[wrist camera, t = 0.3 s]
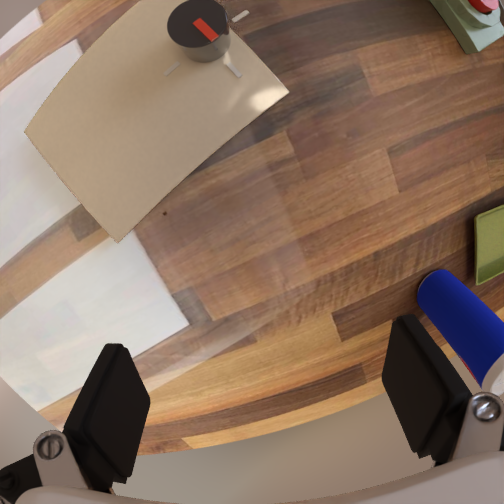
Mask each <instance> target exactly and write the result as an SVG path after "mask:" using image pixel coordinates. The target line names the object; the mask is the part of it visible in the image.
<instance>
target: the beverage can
mask: <svg viewBox="0 0 504 504" xmlns="http://www.w3.org/2000/svg"><path fill="white" fill-rule="evenodd" d="M417 302H418V305H419V306H420V308H421V309H422V310H423V311H424V313H425V314H426V315H427V316H428V318H429V319H430V320H431V321H432V323H433V324H434V325H435V326H436V328H437V329H438V330H439V331H440V333H441V334H442V335H443V337H444V338H445V339H446V340H447V342H448V343H449V344H450V346H451V347H452V348H453V350H454V351H455V352H456V354H457V355H458V356H459V358H460V359H461V360H462V362H463V363H464V365H465V366H466V367H467V369H468V370H469V372H470V373H471V374H472V376H473V377H474V379H475V380H476V382H477V383H478V384H479V386H480V387H481V389H482V390H483V391H484V392H490V393H493V394H495V395H497V396H499V395H501V394H502V393H504V322H503V321H502V320H501V319H500V318H499V317H498V316H497V315H496V314H495V313H494V312H493V311H492V310H491V309H489V308H488V307H487V306H486V305H485V304H484V303H483V302H482V301H481V300H480V299H479V298H478V297H477V296H476V295H475V294H474V293H473V292H471V291H470V290H469V289H468V288H467V287H466V286H465V285H464V284H463V283H461V282H460V281H459V280H458V279H457V278H456V277H455V276H454V275H452V274H451V273H450V272H449V271H447V270H437V271H434V272H431V273H430V274H428V275H427V276H426V277H425V278H424V279H423V281H422V282H421V284H420V286H419V289H418V293H417Z"/></svg>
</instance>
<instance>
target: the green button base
mask: <svg viewBox="0 0 504 504" xmlns="http://www.w3.org/2000/svg"><path fill="white" fill-rule="evenodd" d="M429 1H430V2H431V3H432V4H433V6H434V7H435V8H436V10H437V11H438V12H439V14H440V15H441V17H442V18H443V19H444V21H445V22H446V24H447V25H448V27H449V28H450V30H451V31H452V33H453V34H454V36H455V37H456V39H457V40H458V42H459V43H460V45H461V47H462V48H463V50H464V52H465V53H466V54H471V53H477V52H480V51H481V50H483V49H484V48H485V47H487V46H488V45H490V44H491V43H493V42H494V41H496V40H497V39H499V38H500V37H502V36H503V35H504V27H503V26H502V24H501V22H500V21H499V20H500V9H499V6H498V8H497V9H496V10H493V11H489V12H486V13H482V12H479V11H477V10H476V9H475V8H474V7H473V6H471V4H470V3H469V1H468V0H429Z"/></svg>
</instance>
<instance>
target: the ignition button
mask: <svg viewBox="0 0 504 504" xmlns="http://www.w3.org/2000/svg"><path fill="white" fill-rule="evenodd" d="M468 1H469V3H470V4H471V6H473V7H474V8H475V9H476V10H477V11H479V12H482V13H486V12H489V11H493V10H496V9H497V8H498V5H499V3H498V0H468Z"/></svg>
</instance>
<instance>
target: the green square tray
mask: <svg viewBox="0 0 504 504" xmlns="http://www.w3.org/2000/svg"><path fill="white" fill-rule="evenodd" d="M474 232H475V266H474V276H475V284H476V285H480V284H482V283H484V282H486V281H488V280H490V279H492V278H494V277H496V276H497V275H499V274H501V273H503V272H504V204H503V205H501V206H498V207H496V208H493V209H491V210H489V211H486V212H483V213H481V214H478V215H476V216H475V218H474Z"/></svg>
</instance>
